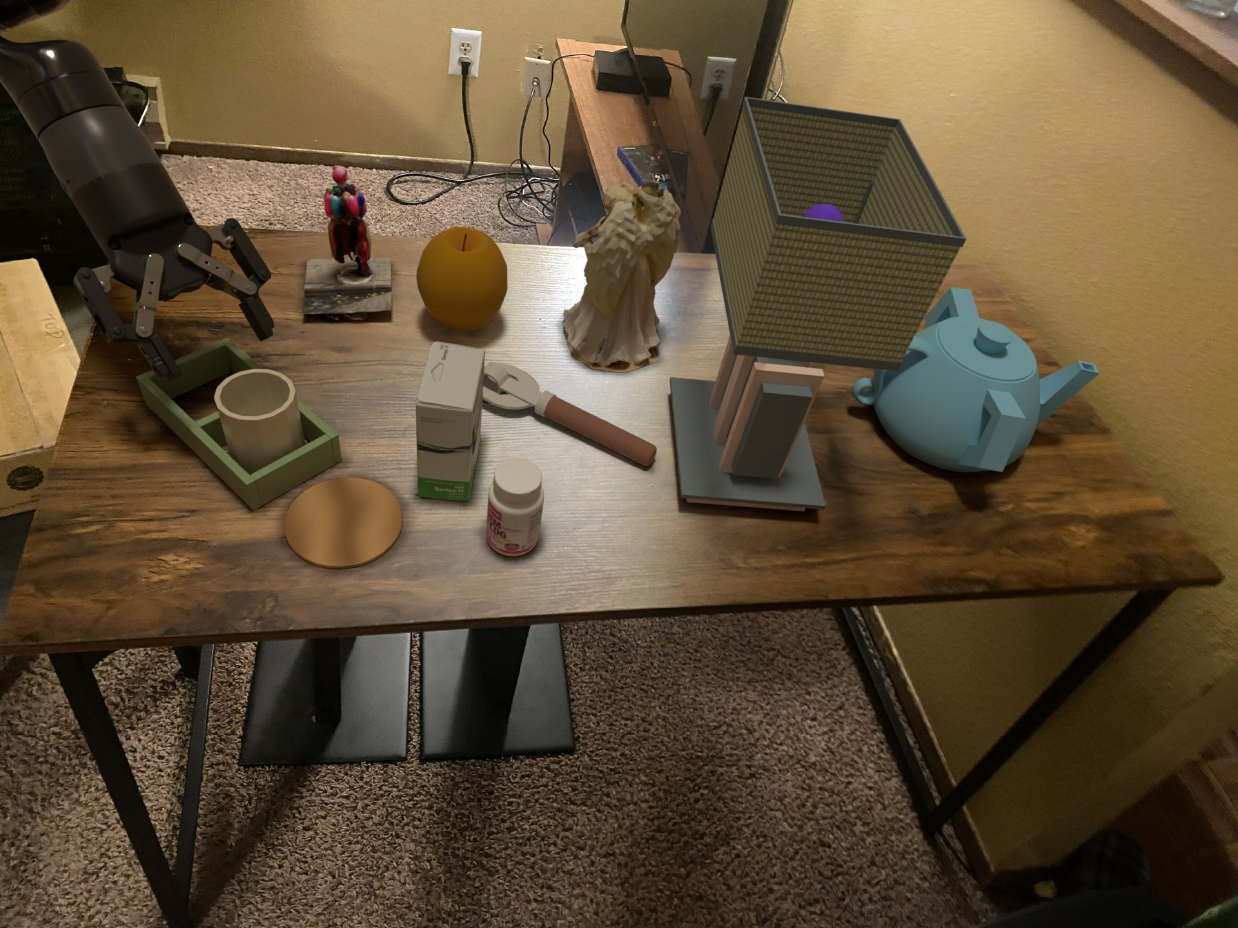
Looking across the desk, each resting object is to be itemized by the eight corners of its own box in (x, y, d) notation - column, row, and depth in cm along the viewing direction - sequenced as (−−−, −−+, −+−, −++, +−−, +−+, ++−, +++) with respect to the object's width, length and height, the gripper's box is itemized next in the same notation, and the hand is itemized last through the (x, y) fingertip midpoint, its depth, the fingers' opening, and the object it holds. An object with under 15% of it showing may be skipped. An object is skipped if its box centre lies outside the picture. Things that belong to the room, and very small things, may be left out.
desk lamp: (818, 528, 82) (970, 239, 58) (677, 517, 80) (774, 214, 56) (788, 400, 94) (903, 119, 70) (665, 389, 92) (741, 96, 69)
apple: (431, 357, 90) (429, 265, 82) (407, 303, 96) (403, 212, 87) (516, 343, 94) (523, 254, 85) (488, 292, 99) (492, 204, 91)
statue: (309, 274, 99) (290, 146, 89) (391, 273, 101) (382, 149, 91) (303, 322, 91) (281, 189, 81) (392, 321, 93) (381, 190, 83)
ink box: (470, 503, 77) (473, 411, 69) (416, 497, 77) (412, 404, 68) (482, 437, 83) (486, 344, 75) (432, 430, 83) (431, 337, 74)
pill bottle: (475, 544, 74) (478, 482, 68) (501, 508, 77) (506, 446, 71) (523, 565, 73) (530, 504, 67) (547, 528, 77) (556, 467, 71)
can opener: (666, 438, 87) (672, 417, 85) (646, 475, 83) (651, 455, 81) (490, 369, 90) (491, 347, 88) (463, 402, 86) (463, 380, 84)
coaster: (302, 584, 69) (301, 581, 69) (271, 498, 74) (271, 495, 74) (419, 547, 73) (419, 544, 73) (382, 468, 79) (382, 465, 78)
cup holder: (342, 460, 78) (338, 434, 76) (253, 510, 73) (246, 484, 71) (234, 364, 85) (228, 337, 82) (145, 404, 80) (135, 376, 77)
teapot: (961, 511, 86) (1028, 414, 76) (822, 402, 95) (866, 303, 85) (1049, 441, 96) (1119, 348, 86) (916, 348, 105) (966, 254, 95)
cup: (241, 490, 74) (223, 427, 69) (225, 442, 78) (207, 378, 72) (314, 471, 77) (303, 409, 71) (295, 425, 81) (284, 362, 75)
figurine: (567, 300, 101) (588, 142, 86) (662, 318, 101) (698, 164, 87) (551, 363, 92) (571, 200, 78) (655, 382, 93) (693, 224, 78)
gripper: (28, 189, 61) (152, 386, 65) (209, 139, 70) (309, 317, 74) (19, 221, 67) (134, 400, 71) (188, 171, 75) (282, 334, 80)
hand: (223, 357), depth 73 cm, fingers open, 8 cm apart
